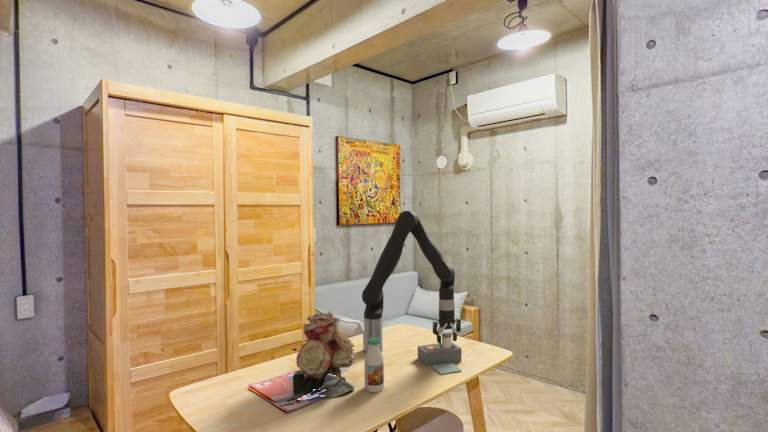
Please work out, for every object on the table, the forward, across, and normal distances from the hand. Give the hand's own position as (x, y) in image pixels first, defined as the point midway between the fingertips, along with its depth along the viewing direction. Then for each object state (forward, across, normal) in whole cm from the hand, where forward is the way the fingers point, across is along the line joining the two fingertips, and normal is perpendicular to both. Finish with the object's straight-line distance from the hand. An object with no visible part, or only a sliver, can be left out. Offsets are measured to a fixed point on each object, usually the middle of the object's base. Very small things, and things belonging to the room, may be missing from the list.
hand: (446, 341), depth 191 cm
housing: (+8, +4, 0) cm, 9 cm away
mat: (+8, +6, +11) cm, 15 cm away
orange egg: (+8, +9, 0) cm, 12 cm away
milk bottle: (+8, +42, +18) cm, 46 cm away
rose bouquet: (+8, +60, +9) cm, 62 cm away
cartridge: (+8, 0, 0) cm, 8 cm away
